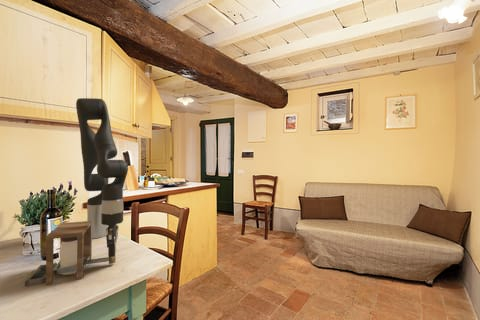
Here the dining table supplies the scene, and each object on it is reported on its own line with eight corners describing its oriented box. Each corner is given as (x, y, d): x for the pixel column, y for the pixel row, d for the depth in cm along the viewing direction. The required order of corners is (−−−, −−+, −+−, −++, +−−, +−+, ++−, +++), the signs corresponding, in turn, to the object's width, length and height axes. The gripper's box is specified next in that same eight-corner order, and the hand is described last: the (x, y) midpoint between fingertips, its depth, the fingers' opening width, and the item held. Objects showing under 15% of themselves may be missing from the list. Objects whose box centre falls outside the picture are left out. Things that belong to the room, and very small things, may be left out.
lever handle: (60, 265, 86) (60, 238, 86) (116, 257, 94) (117, 233, 93) (51, 276, 78) (52, 247, 78) (114, 267, 85) (114, 240, 85)
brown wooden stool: (61, 264, 89) (61, 223, 89) (91, 260, 93) (91, 220, 93) (46, 284, 75) (46, 235, 74) (82, 278, 79) (82, 232, 78)
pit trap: (40, 269, 85) (40, 265, 85) (56, 266, 87) (56, 262, 87) (24, 286, 74) (24, 281, 74) (44, 282, 76) (44, 278, 76)
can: (70, 276, 80) (70, 242, 80) (55, 274, 81) (55, 241, 81) (86, 268, 86) (86, 236, 86) (72, 266, 87) (72, 235, 87)
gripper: (104, 207, 94) (104, 249, 94) (98, 215, 81) (97, 264, 81) (124, 206, 97) (124, 246, 97) (121, 214, 84) (121, 260, 84)
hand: (112, 254), depth 89 cm, fingers closed on lever handle, 2 cm apart
